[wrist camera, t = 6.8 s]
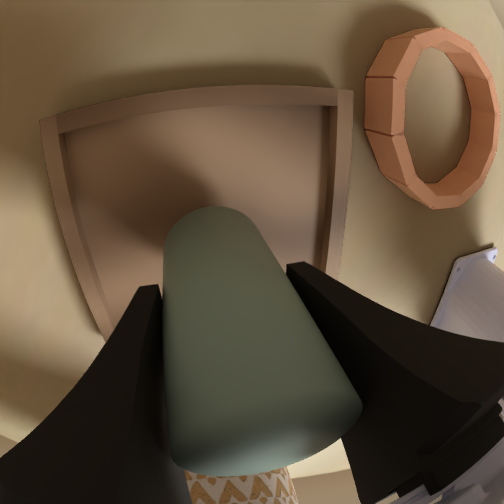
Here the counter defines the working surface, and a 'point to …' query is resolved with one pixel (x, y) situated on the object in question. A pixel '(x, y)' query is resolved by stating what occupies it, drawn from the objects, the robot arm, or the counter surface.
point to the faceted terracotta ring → (393, 114)
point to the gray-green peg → (243, 354)
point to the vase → (242, 488)
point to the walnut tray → (197, 178)
